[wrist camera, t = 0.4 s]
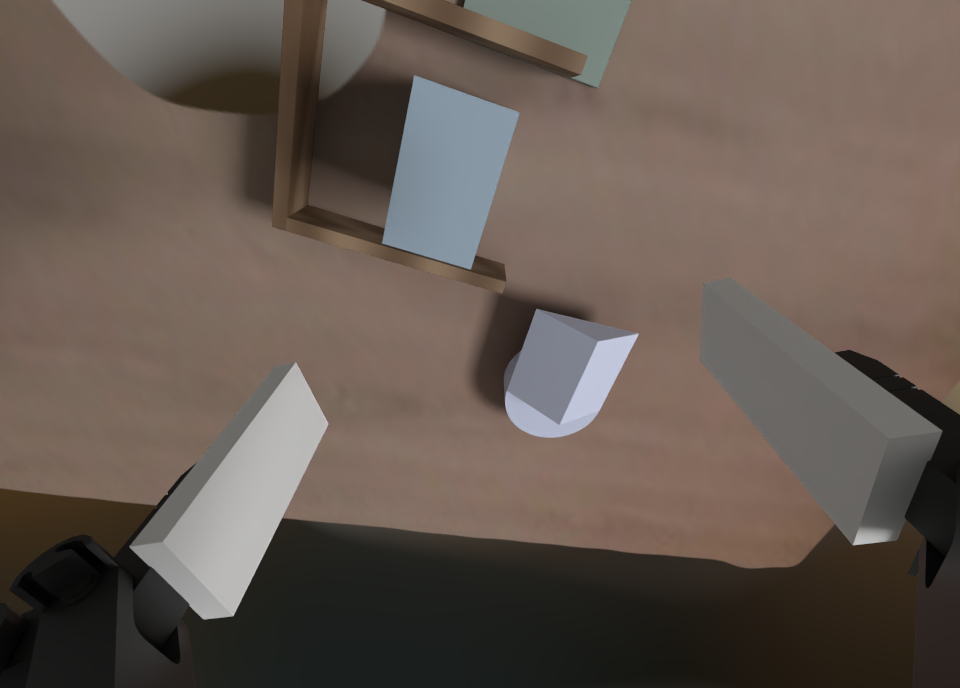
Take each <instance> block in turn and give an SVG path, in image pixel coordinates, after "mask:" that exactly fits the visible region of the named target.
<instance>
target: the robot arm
mask: <svg viewBox="0 0 960 688" xmlns="http://www.w3.org/2000/svg"><path fill="white" fill-rule="evenodd" d="M700 360H701V361H702V363H703V364H704V365H705V366H706V368H707V369H708V370H709V371H710V372H711V374H712V375H713V376H714V377H715V378H716V380H717V381H718V382H719V383H720V385H721V386H722V387H723V388H724V389H725V391H726V392H727V393H728V394H729V395H730V397H731V398H732V399H733V400H734V402H735V403H736V404H737V405H738V406H739V408H740V409H741V410H742V411H743V412H744V414H745V415H746V416H747V417H748V419H749V420H750V421H751V422H752V423H753V425H754V426H755V427H756V428H757V429H758V431H759V432H760V433H761V434H762V436H763V437H764V438H765V439H766V440H767V442H768V443H769V444H770V445H771V446H772V448H773V449H774V450H775V451H776V452H777V454H778V455H779V456H780V457H781V459H782V460H783V461H784V462H785V463H786V465H787V466H788V467H789V468H790V469H791V471H792V472H793V473H794V474H795V476H796V477H797V478H798V479H799V480H800V482H801V483H802V484H803V485H804V486H805V488H806V489H807V490H808V491H809V493H810V494H811V495H812V496H813V497H814V499H815V500H816V501H817V502H818V503H819V505H820V506H821V507H822V508H823V510H824V511H825V512H826V513H827V514H828V516H829V517H830V518H831V519H832V520H833V522H834V523H835V524H836V525H837V526H838V528H839V529H840V530H841V531H842V533H843V534H844V535H845V536H846V537H847V539H848V540H849V541H850V542H851V543H852V544H853V545H858V544H867V543H876V542H885V541H894V540H897V539H898V537H899V534H900V532H901V529H902V527H903V525H904V522H905V520H906V519H907V520H908V521H909V522H910V523H911V524H912V525H913V526H914V527H915V528H916V529H917V530H918V531H919V532H920V533H921V534H922V535H923V536H924V539H923V541H922V544H921V546H920V548H919V550H918V552H917V554H916V556H915V559H914V561H913V563H912V565H911V567H910V569H909V572H908V574H911V575H913V576H917V574H918V587H917V609H916V632H915V633H916V634H915V655H914V679H913V688H960V415H959V414H958V413H956V412H955V411H953V410H952V409H950V408H949V407H947V406H946V405H944V404H943V403H941V402H940V401H938V400H937V399H935V398H934V397H932V396H931V395H929V394H928V393H926V392H925V391H923V390H918V389H917V386H916V385H914V384H913V383H911V382H910V381H908V380H906V379H905V378H903V377H902V378H900V377H899V374H897V373H896V372H894V371H893V370H891V369H890V368H888V367H887V366H885V365H884V364H882V363H881V362H879V361H878V360H875V359H873V358H870V357H867V356H864V355H862V354H859V353H856V352H854V351H851V350H847V351H841V352H835V353H834V352H833V351H831V350H830V349H828V348H827V347H826V346H824V345H823V344H821V343H820V342H819V341H817V340H816V339H815V338H813V337H812V336H810V335H809V334H808V333H806V332H805V331H803V330H802V329H801V328H799V327H798V326H797V325H795V324H794V323H792V322H791V321H790V320H788V319H787V318H786V317H784V316H783V315H781V314H780V313H779V312H777V311H776V310H774V309H773V308H772V307H770V306H769V305H768V304H766V303H765V302H763V301H762V300H761V299H759V298H758V297H756V296H755V295H754V294H752V293H751V292H750V291H748V290H747V289H745V288H744V287H743V286H741V285H740V284H738V283H737V282H736V281H734V280H733V279H732V278H726V279H721V280H716V281H711V282H706V283H703V303H702V329H701V354H700ZM327 426H328V422H327V420H326V418H325V417H324V415H323V413H322V411H321V409H320V407H319V405H318V403H317V401H316V399H315V398H314V396H313V394H312V392H311V390H310V388H309V386H308V384H307V382H306V381H305V379H304V377H303V375H302V373H301V371H300V369H299V367H298V365H297V363H296V362H294V363H289V364H284V365H279V366H275V367H274V368H273V369H272V371H271V372H270V373H269V374H268V375H267V377H266V378H265V379H264V380H263V382H262V383H261V384H260V385H259V387H258V388H257V389H256V390H255V392H254V393H253V394H252V395H251V396H250V398H249V399H248V400H247V401H246V403H245V404H244V405H243V406H242V408H241V409H240V410H239V411H238V413H237V414H236V415H235V416H234V418H233V419H232V420H231V421H230V422H229V424H228V425H227V426H226V427H225V429H224V430H223V431H222V432H221V434H220V435H219V436H218V437H217V439H216V440H215V441H214V442H213V444H212V445H211V446H210V447H209V448H208V450H207V451H206V452H205V453H204V455H203V456H202V457H201V458H200V460H199V461H198V462H197V463H196V464H195V465H193V466H192V467H191V468H190V469H189V470H187V471H186V472H185V473H184V474H183V475H181V477H180V478H179V479H178V480H177V481H176V483H175V484H174V485H173V486H172V487H171V489H170V490H169V491H168V495H165V496H164V497H163V498H162V500H161V501H160V502H159V503H158V505H157V509H153V511H152V512H151V513H150V514H149V516H148V517H147V518H146V519H145V520H144V522H143V523H142V524H141V525H140V526H139V528H138V529H137V530H136V531H135V532H134V534H133V535H132V536H131V537H130V539H129V540H128V541H127V542H126V543H125V545H124V546H123V547H122V548H121V550H120V551H119V552H118V553H117V554H116V556H115V557H114V558H113V557H112V556H111V555H110V554H109V553H108V552H107V551H106V550H105V549H104V548H103V547H101V545H99V544H98V543H97V542H96V541H95V540H94V539H93V538H92V537H91V536H87V535H79V536H75V537H72V538H69V539H67V540H65V541H63V542H61V543H58V544H56V545H55V546H53V547H52V548H50V549H49V550H47V551H46V552H44V553H42V554H41V555H40V556H39V557H38V558H36V559H35V560H34V561H33V562H31V563H30V564H29V565H28V566H27V567H26V568H25V569H24V570H23V571H22V572H21V573H20V574H19V576H18V577H17V578H16V579H15V581H14V582H13V584H12V586H11V588H10V591H11V592H12V593H14V594H15V595H17V596H18V597H19V598H21V599H22V600H23V601H25V602H26V603H27V604H29V605H30V606H32V607H33V608H34V609H33V610H31V611H28V612H26V613H23V614H20V613H19V612H17V611H16V610H15V609H13V608H12V607H10V606H9V605H8V604H6V603H0V688H196V686H195V678H194V670H193V662H192V655H191V647H190V639H189V632H188V629H187V627H186V625H185V623H183V622H182V621H181V618H182V616H183V615H184V613H185V611H186V610H187V608H188V606H190V607H191V608H192V609H194V610H195V611H196V612H197V613H198V614H199V615H200V616H201V617H202V618H203V619H211V618H220V617H229V616H233V615H234V613H235V611H236V609H237V607H238V605H239V603H240V601H241V599H242V597H243V595H244V593H245V591H246V589H247V587H248V585H249V583H250V581H251V579H252V577H253V575H254V573H255V571H256V569H257V567H258V565H259V563H260V561H261V559H262V557H263V555H264V553H265V551H266V549H267V547H268V545H269V543H270V541H271V539H272V537H273V535H274V533H275V531H276V529H277V527H278V525H279V523H280V521H281V519H282V517H283V515H284V513H285V511H286V509H287V507H288V505H289V503H290V501H291V499H292V497H293V495H294V493H295V491H296V489H297V487H298V484H299V482H300V480H301V478H302V476H303V474H304V472H305V470H306V468H307V466H308V464H309V462H310V460H311V458H312V456H313V454H314V452H315V450H316V448H317V446H318V444H319V442H320V440H321V438H322V436H323V434H324V432H325V430H326V428H327Z"/></svg>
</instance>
